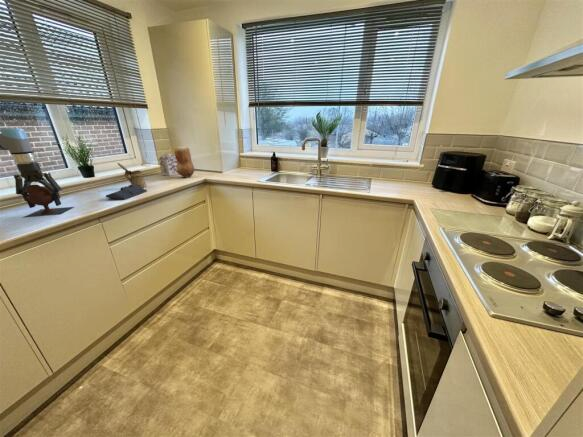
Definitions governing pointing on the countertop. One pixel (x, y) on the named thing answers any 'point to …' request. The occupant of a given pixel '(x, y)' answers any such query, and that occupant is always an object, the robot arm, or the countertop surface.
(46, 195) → the ice cream bowl
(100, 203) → the countertop surface
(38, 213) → the placemat
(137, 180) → the tan handled pot
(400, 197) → the countertop surface
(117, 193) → the dark slate chunk
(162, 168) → the decorative jar
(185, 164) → the butternut squash
